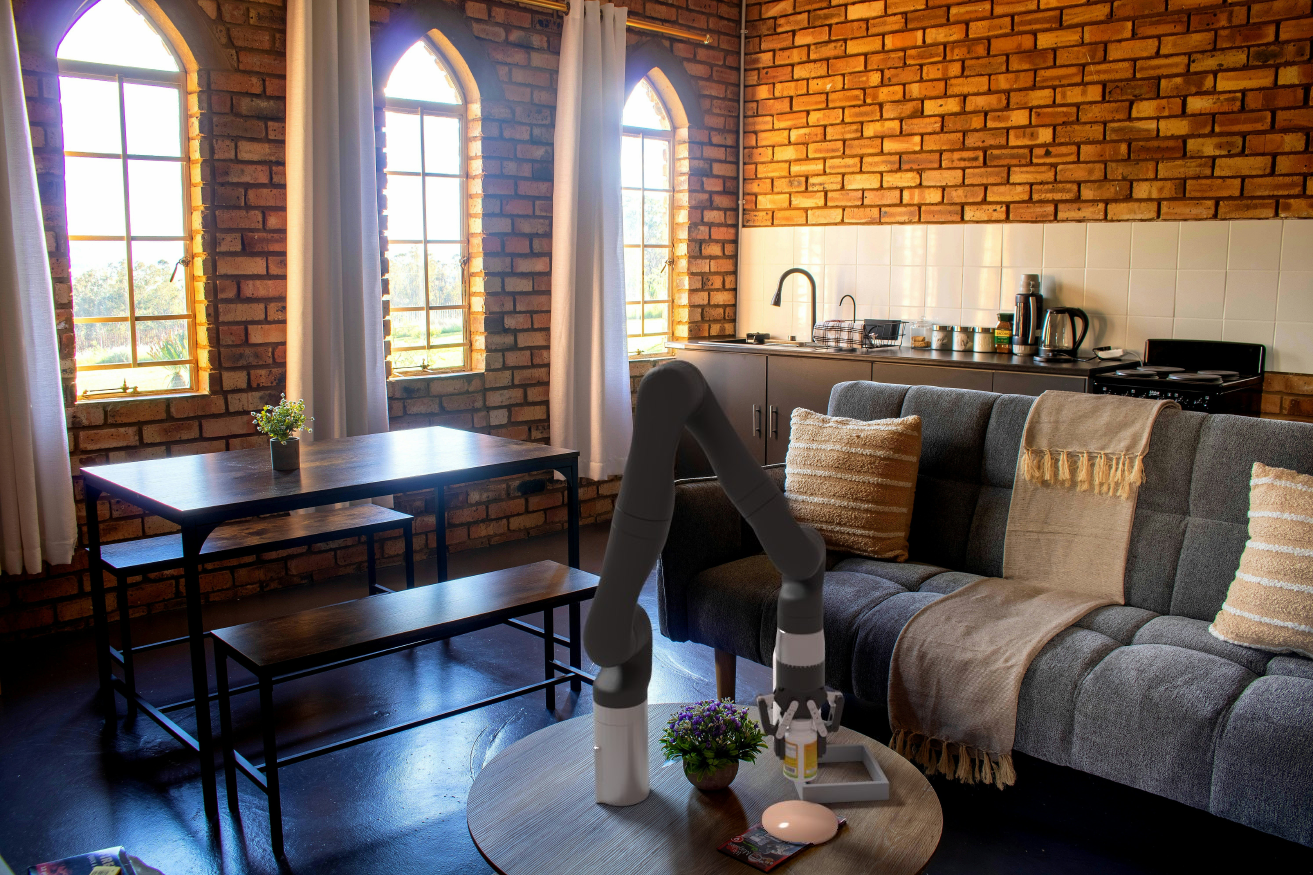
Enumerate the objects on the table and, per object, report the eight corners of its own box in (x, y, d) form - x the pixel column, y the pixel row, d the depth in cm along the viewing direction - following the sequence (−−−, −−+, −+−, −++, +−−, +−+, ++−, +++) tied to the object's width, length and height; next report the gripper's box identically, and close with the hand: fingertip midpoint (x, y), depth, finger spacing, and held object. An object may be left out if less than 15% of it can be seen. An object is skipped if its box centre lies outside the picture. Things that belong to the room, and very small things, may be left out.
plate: (769, 846, 155) (769, 842, 155) (756, 806, 167) (756, 801, 167) (846, 843, 156) (846, 838, 156) (828, 803, 167) (828, 798, 167)
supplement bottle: (816, 766, 162) (816, 709, 161) (818, 783, 157) (818, 724, 155) (782, 765, 163) (782, 708, 161) (783, 782, 157) (783, 723, 156)
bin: (802, 803, 167) (802, 786, 167) (785, 762, 182) (785, 746, 181) (888, 799, 168) (889, 782, 168) (865, 758, 183) (865, 742, 182)
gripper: (758, 665, 153) (758, 770, 155) (851, 661, 153) (850, 766, 156) (750, 648, 160) (751, 748, 163) (840, 644, 161) (839, 744, 163)
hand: (800, 756), depth 159 cm, fingers closed on supplement bottle, 5 cm apart
